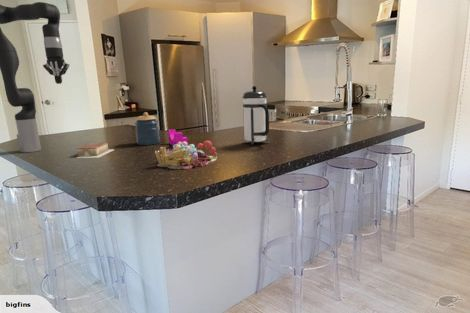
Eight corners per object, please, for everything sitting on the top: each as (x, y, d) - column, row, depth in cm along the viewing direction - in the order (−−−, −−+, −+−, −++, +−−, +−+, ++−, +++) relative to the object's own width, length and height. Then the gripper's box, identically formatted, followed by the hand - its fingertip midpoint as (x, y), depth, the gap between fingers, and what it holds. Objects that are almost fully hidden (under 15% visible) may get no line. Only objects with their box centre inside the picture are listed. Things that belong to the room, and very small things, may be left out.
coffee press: (237, 145, 174) (234, 86, 168) (247, 139, 189) (245, 85, 182) (268, 146, 168) (268, 86, 161) (277, 140, 182) (276, 84, 175)
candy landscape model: (198, 172, 129) (197, 149, 126) (146, 169, 136) (144, 147, 134) (222, 157, 151) (221, 137, 149) (176, 155, 159) (175, 136, 157)
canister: (164, 142, 192) (162, 111, 188) (148, 146, 181) (144, 113, 177) (149, 140, 199) (146, 110, 195) (131, 144, 188) (128, 113, 184)
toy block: (187, 146, 178) (186, 132, 177) (176, 147, 176) (175, 133, 174) (179, 141, 192) (178, 129, 190) (169, 143, 189) (168, 130, 187)
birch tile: (76, 148, 161) (96, 147, 160) (88, 143, 173) (107, 142, 172) (77, 156, 162) (97, 155, 161) (89, 150, 174) (108, 150, 173)
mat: (75, 158, 159) (75, 157, 159) (94, 150, 176) (94, 149, 176) (98, 158, 158) (98, 157, 158) (114, 149, 175) (114, 149, 175)
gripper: (35, 47, 159) (41, 84, 163) (61, 46, 158) (67, 83, 162) (45, 48, 167) (51, 84, 171) (70, 47, 166) (75, 83, 170)
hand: (59, 83), depth 167 cm, fingers closed
